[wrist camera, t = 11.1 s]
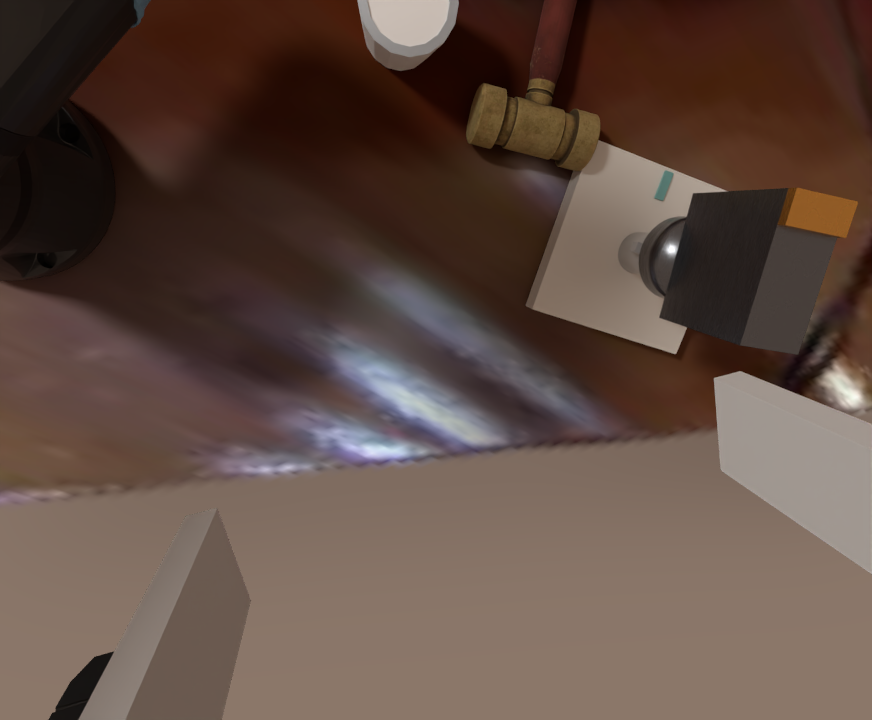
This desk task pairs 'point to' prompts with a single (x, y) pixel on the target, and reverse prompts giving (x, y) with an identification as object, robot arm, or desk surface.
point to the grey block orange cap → (746, 263)
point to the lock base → (612, 246)
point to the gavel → (537, 104)
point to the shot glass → (406, 29)
